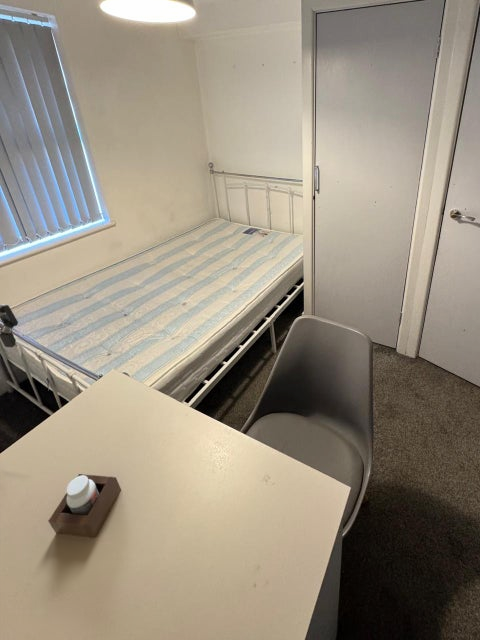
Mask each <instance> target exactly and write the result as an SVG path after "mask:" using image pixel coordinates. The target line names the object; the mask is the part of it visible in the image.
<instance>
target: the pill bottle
mask: <svg viewBox="0 0 480 640" xmlns="http://www.w3.org/2000/svg"><path fill="white" fill-rule="evenodd" d="M85 475H86V474H85ZM85 475H81V476H78V475H77V476H78V477H77V476H76V477H75V478H74V479H72V480H71V481H70V482H69V483H68V485H67V487H66V493H67V504H68V506H69V508H70V510H71V511H72V513H73V514H77V515H88V514H89V512H90V510H91V508H92V507H93V505H94V503H95V501H96V500H97V498H98V496H99V492H98V490H97V487H96V485H95V483H94V482H93V481H92V480H90V479H88V478H87V476H85Z"/></svg>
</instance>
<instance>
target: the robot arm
mask: <svg viewBox="0 0 480 640" xmlns="http://www.w3.org/2000/svg"><path fill="white" fill-rule="evenodd" d="M0 321H1V322H2V324H0V340H1V342H2V344H3V346H4V347H5V348H14V347H15V346H16V345H17V344H16V341H17V340H16V337H15V336H14V333H13V328H14V327H16V326H18V324H19V321H18V319H17V318H16V315H15V314H14V312H13V311H12V308H11V307H10V306H9V304H0Z"/></svg>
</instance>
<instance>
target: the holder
mask: <svg viewBox="0 0 480 640" xmlns="http://www.w3.org/2000/svg"><path fill="white" fill-rule="evenodd" d="M81 475H85V476H87V478H88V479H90V480H92V481H93V482H94V483H95V485H96V487H97V490H98V492H99V496H98V498H97V500H96V501H95V503H94V505H93V507H92V508H91V510H90V512H89V514H88V515H77V514H73V513H72V511H71V510H70V508H69V506H68V504H67V492H66V493H65V494H64V496H63V497H62V499H61V501H60V502H59V504H58V505H57V507H56V508H55V510H54V511H53V513H52V515H51V516H50V518H49V519H48V523H49V525H50V526H51V528H52V530H53V531H54V533H55V534H58V535H59V534H60V535H66V536H67V535H69V536H76V537H85V538H95V539H96V538H97V536H98V534H99V533H100V531H101V529H102V527H103V525H104V523H105V521H106V520H107V518H108V516H109V514H110V512H111V510H112V508H113V506H114V504H115V502H116V500H117V499H118V496H119V495H120V493H121V491H122V489H121V485H120V484H119V481H118V479H117V477H116V476H106V475H95V474H84V473H79V474H78V475H77V476H76V477H78V476H81Z"/></svg>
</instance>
